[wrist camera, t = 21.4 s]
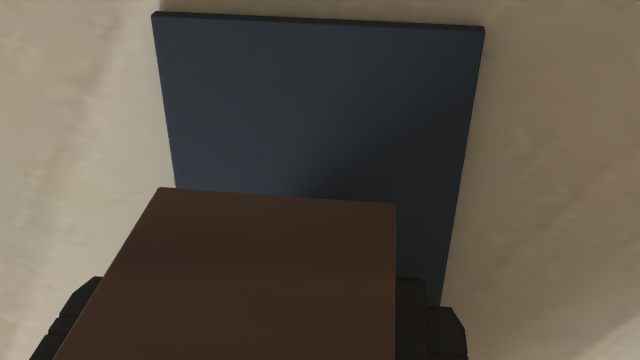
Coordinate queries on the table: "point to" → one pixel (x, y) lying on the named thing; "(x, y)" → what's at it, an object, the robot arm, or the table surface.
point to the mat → (325, 116)
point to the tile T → (245, 282)
